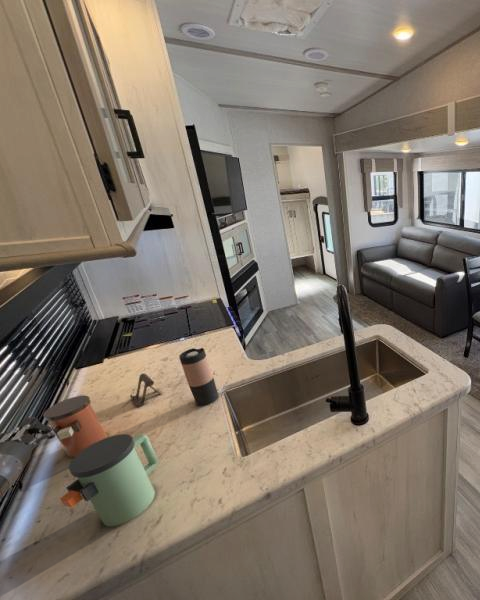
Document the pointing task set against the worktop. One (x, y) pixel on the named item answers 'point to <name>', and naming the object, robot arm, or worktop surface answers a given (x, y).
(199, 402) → the travel mug
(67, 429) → the button
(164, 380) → the worktop surface
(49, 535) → the worktop surface
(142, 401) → the tablet stand
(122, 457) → the sage jug
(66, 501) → the orange cube
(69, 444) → the terracotta jug
